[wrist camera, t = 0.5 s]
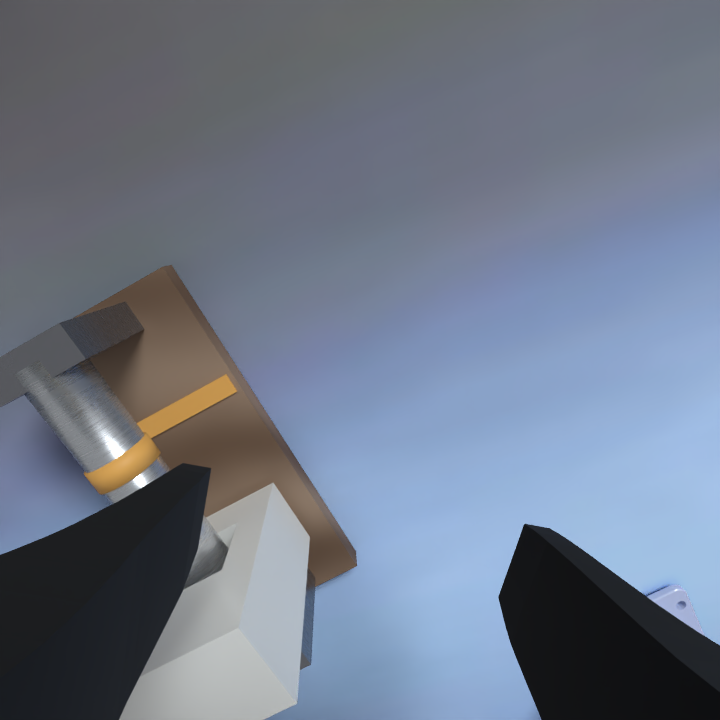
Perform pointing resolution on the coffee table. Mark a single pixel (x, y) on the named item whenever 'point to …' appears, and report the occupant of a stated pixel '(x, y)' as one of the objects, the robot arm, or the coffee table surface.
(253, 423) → the rod jig
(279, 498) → the white block on rod
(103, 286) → the coffee table surface
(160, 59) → the coffee table surface
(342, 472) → the coffee table surface
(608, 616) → the robot arm
